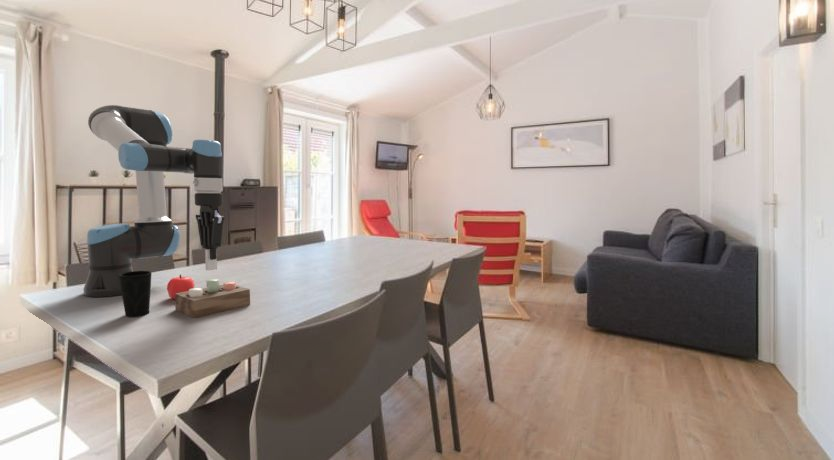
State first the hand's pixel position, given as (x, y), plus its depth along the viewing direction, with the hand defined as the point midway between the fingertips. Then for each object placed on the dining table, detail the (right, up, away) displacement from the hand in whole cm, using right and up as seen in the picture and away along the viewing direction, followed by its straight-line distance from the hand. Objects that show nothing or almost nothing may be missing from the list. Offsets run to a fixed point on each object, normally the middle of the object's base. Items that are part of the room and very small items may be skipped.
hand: (211, 269), depth 119 cm
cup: (-18, -13, -6) cm, 23 cm away
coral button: (+3, -9, +6) cm, 11 cm away
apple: (-16, -11, +11) cm, 22 cm away
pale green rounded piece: (0, -7, +1) cm, 8 cm away
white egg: (-3, -10, -3) cm, 10 cm away
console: (0, -12, +2) cm, 12 cm away
